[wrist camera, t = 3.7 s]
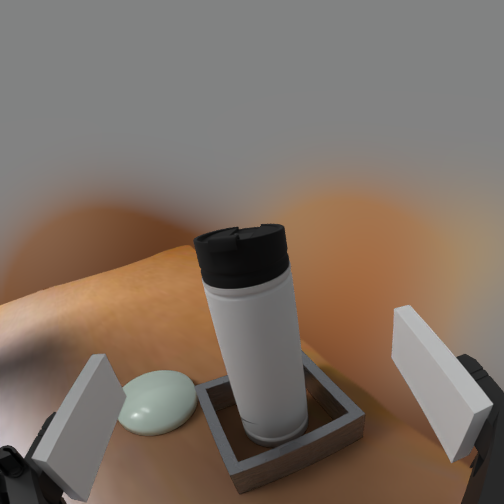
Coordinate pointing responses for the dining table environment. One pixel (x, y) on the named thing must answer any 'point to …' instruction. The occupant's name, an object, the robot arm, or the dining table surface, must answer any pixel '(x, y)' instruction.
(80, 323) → the dining table surface
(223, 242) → the travel mug
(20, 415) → the dining table surface
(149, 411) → the disc
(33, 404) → the dining table surface
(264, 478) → the square frame
